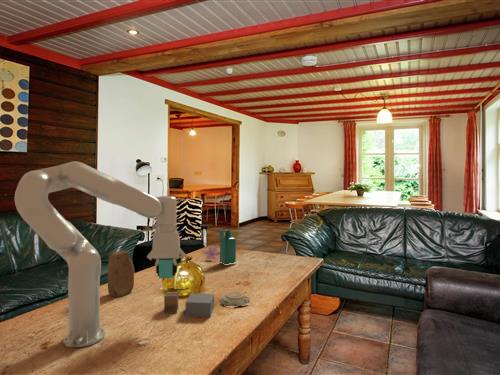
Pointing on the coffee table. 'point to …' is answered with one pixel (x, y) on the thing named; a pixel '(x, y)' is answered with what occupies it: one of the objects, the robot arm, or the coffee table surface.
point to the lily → (211, 252)
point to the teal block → (165, 268)
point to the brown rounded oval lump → (120, 273)
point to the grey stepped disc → (234, 299)
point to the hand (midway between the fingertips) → (166, 274)
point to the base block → (199, 305)
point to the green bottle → (227, 247)
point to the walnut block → (171, 302)
